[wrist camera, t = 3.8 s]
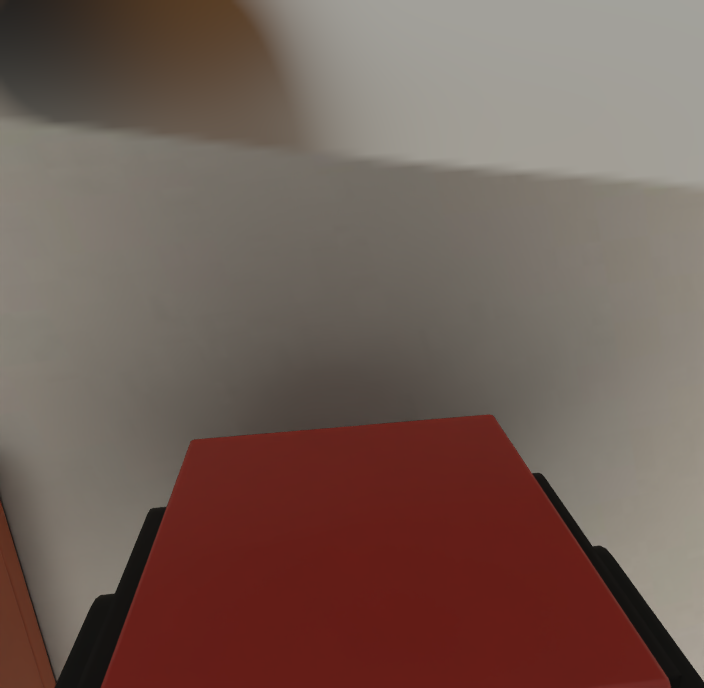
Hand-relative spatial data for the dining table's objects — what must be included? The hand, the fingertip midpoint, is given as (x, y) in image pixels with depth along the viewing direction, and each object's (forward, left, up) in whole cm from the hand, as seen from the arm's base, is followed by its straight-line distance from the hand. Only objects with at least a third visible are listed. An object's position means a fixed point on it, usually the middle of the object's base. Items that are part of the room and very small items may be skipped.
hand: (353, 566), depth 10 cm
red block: (0, 0, 0) cm, 0 cm away
